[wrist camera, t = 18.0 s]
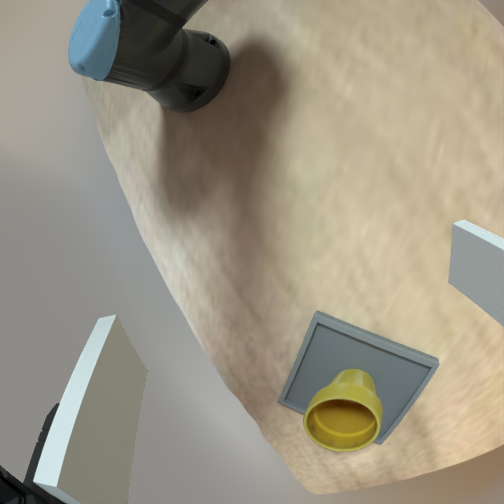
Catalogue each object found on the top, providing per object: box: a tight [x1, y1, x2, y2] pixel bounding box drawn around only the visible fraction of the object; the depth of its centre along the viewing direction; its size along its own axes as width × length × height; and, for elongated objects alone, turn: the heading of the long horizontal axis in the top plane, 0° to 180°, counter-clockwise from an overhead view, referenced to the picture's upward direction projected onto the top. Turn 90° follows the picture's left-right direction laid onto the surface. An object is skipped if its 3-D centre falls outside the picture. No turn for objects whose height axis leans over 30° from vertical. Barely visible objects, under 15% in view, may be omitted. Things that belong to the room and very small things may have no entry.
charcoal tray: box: [278, 311, 439, 444], centre depth 40 cm, size 20×18×2 cm
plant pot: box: [303, 369, 383, 452], centre depth 36 cm, size 10×10×10 cm
